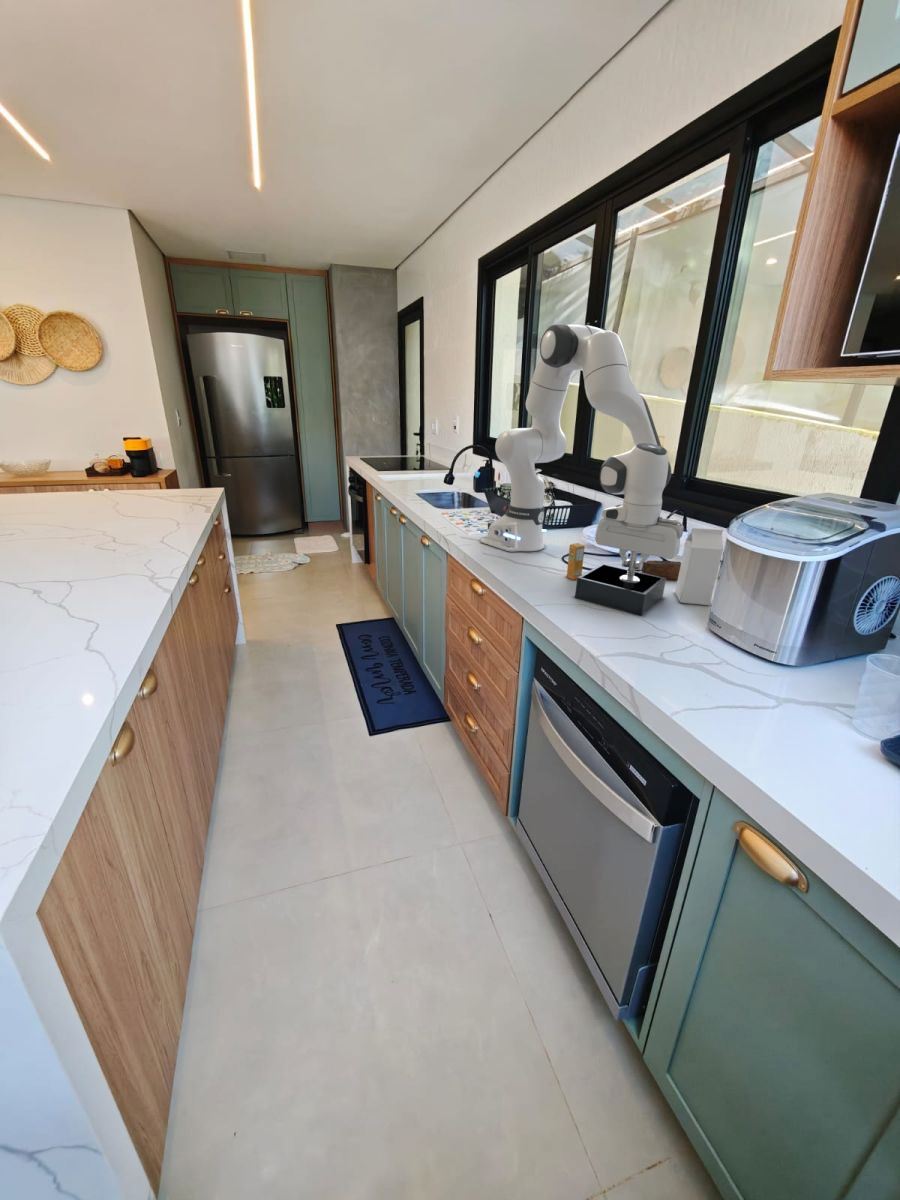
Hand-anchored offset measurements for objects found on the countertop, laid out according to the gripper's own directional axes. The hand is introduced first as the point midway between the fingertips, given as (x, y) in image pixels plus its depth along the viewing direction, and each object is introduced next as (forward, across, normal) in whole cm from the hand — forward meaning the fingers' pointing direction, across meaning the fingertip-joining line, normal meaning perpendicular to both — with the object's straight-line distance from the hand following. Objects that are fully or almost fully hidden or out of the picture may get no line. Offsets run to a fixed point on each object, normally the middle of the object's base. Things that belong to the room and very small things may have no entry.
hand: (631, 567), depth 128 cm
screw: (+5, 0, 0) cm, 5 cm away
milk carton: (+9, -13, -12) cm, 20 cm away
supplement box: (+9, +18, -6) cm, 21 cm away
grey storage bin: (+9, +2, 0) cm, 9 cm away
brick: (+9, -1, -24) cm, 26 cm away
